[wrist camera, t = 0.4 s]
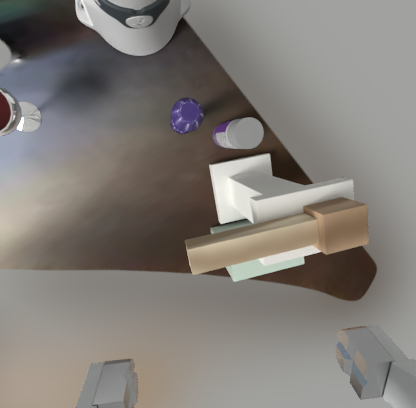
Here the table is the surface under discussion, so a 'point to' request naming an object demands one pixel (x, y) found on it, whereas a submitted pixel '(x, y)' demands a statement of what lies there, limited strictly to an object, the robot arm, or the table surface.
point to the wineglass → (17, 114)
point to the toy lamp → (186, 115)
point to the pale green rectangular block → (253, 266)
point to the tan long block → (284, 235)
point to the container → (239, 133)
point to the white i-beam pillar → (268, 196)
